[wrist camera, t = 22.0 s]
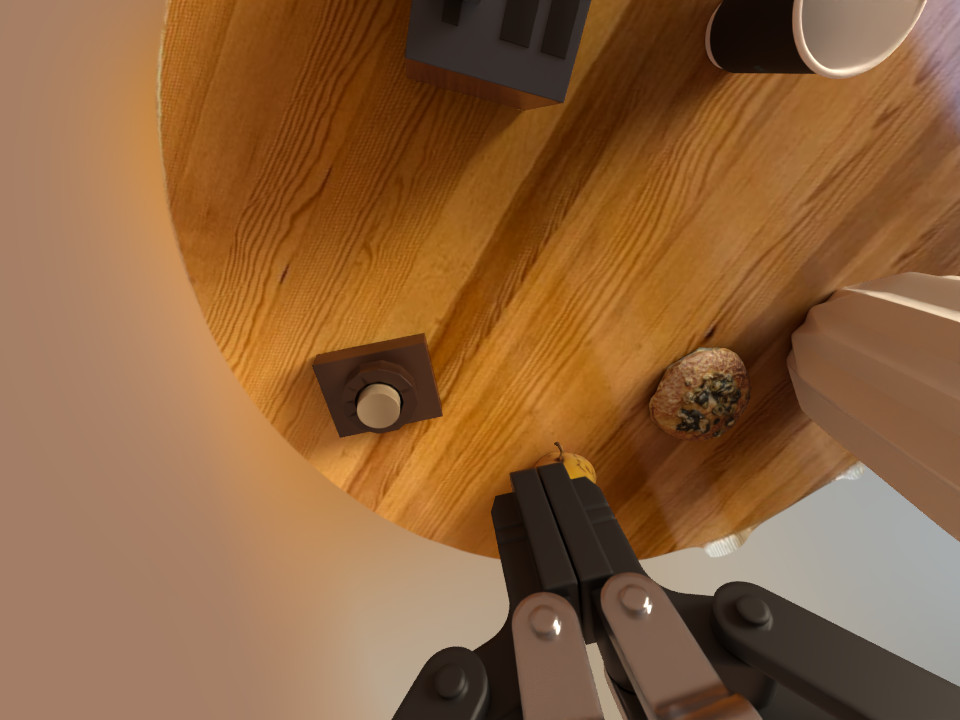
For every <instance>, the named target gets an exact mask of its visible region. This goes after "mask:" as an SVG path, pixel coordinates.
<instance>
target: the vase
mask: <svg viewBox="0 0 960 720" xmlns="http://www.w3.org/2000/svg"><path fill="white" fill-rule="evenodd" d="M791 340H792V346H793V348H792V349H791V351H790V353H789V355H788V356H787V359H786V362H787V366H788V370H789V373H790V377H791V380H792V383H793V386H794V389H795V392H796V395H797V399H798V402H799V404H800V407H801V410H802V411H803V412H804V413H805V414H806V415H807V416H809V417H810V418H811V419H812V420H813V421H814V422H815V423H817V424H818V425H819V426H820V427H821V428H822V429H823V430H825V431H826V432H827V433H828V434H829V435H830V436H831V437H833V438H834V439H835V440H836V441H837V442H838V443H840V444H841V445H842V446H843V447H845V448H846V449H847V450H848V451H849V452H851V453H852V454H853V455H854V456H855V457H856V458H858V459H859V460H860V461H861V462H862V463H864V464H865V465H866V466H867V467H868V468H870V469H871V470H872V471H873V472H875V473H876V474H877V475H878V476H879V477H880V478H882V479H883V480H884V481H885V482H887V483H888V484H889V485H890V486H891V487H893V488H894V489H895V490H896V491H897V492H899V493H900V494H901V495H902V496H904V497H905V498H906V499H907V500H908V501H910V502H911V503H912V504H914V506H916V507H917V508H918V509H919V510H920V511H922V512H923V513H924V514H925V515H927V516H928V517H929V518H930V519H931V520H933V521H934V522H935V523H936V524H937V525H939V526H940V527H941V528H942V529H944V530H945V531H946V532H948V533H949V534H950V535H951V536H953V537H954V538H955V539H957V540H958V541H959V542H960V277H959V276H933V275H928V274H923V273H917V272H907V273H902V274H898V275H893V276H889V277H884V278H880V279H875V280H871V281H867V282H863V283H859V284H854V285H850V286H846V287H843V288H840V289H838V290H837V291H835V292H834V293H833V295H832V296H831V297H830V298H829V299H828V300H827V301H826V302H825V303H822V304H818V305H816V306H813V307H811V308H810V310H809V312H808V314H807V317H806V320H805V322H804V323H803V324H802V325H801V326H800V327H799V328H797V329H796V330H795V331H794V332H793V333H792V335H791Z"/></svg>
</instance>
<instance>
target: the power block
mask: <svg viewBox="0 0 960 720" xmlns="http://www.w3.org/2000/svg"><path fill="white" fill-rule="evenodd" d="M312 367H313V369H314V372H315V375H316V377H317V380H318V382H319V385H320V387H321V390H322V393H323V395H324V398H325V400H326V403H327V406H328V408H329V411H330V413H331V416H332V419H333V421H334V424H335V426H336V429H337V432H338V434H339V437H340V438H342V437H346V436H351V435H356V434H360V433H365V432H374V433H385V432H390V431H394V430H398V429H400V428H401V427H402V426H403V425H405V424H408V423H412V422H417V421H422V420H426V419H431V418H436V417H441V416H443V414H442V405H441V400H440V396H439V392H438V388H437V384H436V380H435V375H434V371H433V367H432V363H431V359H430V355H429V350H428V346H427V342H426V338H425V334H424V333H422V334H417V335H412V336H407V337H402V338H397V339H392V340H387V341H382V342H377V343H373V344H368V345H363V346H358V347H353V348H348V349H343V350H338V351H333V352H328V353H323V354H318V355H316V358H315V360H314V363H313V365H312ZM376 383H383V384H387V385H390V386H391V387H393V388H394V389H395V390H396V391H397V392H398V394H399V396H400V414H399V417H398V419H397V420H396V421H395V422H394V423H393V424H392V425H390V426H388V427H385V428H372V427H369V426H367V425H365V424H364V423H363V422H362V421H361V420H360V419H359V417H358V415H357V405H358V400H359V396H360V393H361V392H362V390H363V389H364V388H366V387H367V386H369V385H371V384H376Z"/></svg>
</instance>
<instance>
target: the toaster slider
mask: <svg viewBox="0 0 960 720" xmlns="http://www.w3.org/2000/svg"><path fill="white" fill-rule="evenodd" d="M465 1H468V2H471V3H474V4H477V5H479V4H480V2H481V0H465Z"/></svg>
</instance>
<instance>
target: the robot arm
mask: <svg viewBox="0 0 960 720" xmlns="http://www.w3.org/2000/svg"><path fill="white" fill-rule="evenodd" d="M509 474H510V481H511V487H512V492H511V493H507V494H502V495H498V496H495V499H494V503H493V507H492V510H491V515H492V520H493V525H494V529H495V534H496V539H497V544H498V549H499V554H500V559H501V563H502V568H503V573H504V577H505V582H506V587H507V592H508V597H509V603H510V605H509V613H508V617H507V620H506V622H505V624H504V626H503V627H502V629H501V630H500V631H499V632H498V633H497V634H496V635H495V636H494V637H493V638H492V639H490V640H489V641H488V642H486V643H484V644H483V645H481V646H480V647H478V648H477V649H475V650H474V651H471V650H469V649H467V648H464V647H449V648H445V649H443V650H441V651H439V652H437V653H436V654H434V655H433V656H432V657H431V658H430V659H429V660H428V661H427V662H426V664H425V665H424V667H423V668H422V670H421V671H420V673H419V675H418V676H417V678H416V680H415V681H414V683H413V685H412V686H411V688H410V690H409V691H408V693H407V695H406V696H405V698H404V700H403V701H402V703H401V705H400V706H399V708H398V710H397V711H396V713H395V715H394V716H393V718H392V720H605V719H604V716H603V712H602V708H601V705H600V701H599V697H598V693H597V690H596V686H595V682H594V678H593V674H592V670H591V666H590V663H589V659H588V655H587V651H586V647H585V644H586V645H587V644H591V643H596V642H597V645H598V647H599V650H600V653H601V656H602V659H603V661H604V673H605V678H606V681H607V684H608V686H609V688H610V691H611V693H612V695H613V698H614V700H615V702H616V704H617V707H618V709H619V711H620V714H621V715H622V718H623V720H960V687H959V686H957V685H955V684H953V683H951V682H949V681H947V680H945V679H943V678H941V677H939V676H937V675H935V674H933V673H931V672H929V671H927V670H925V669H923V668H921V667H919V666H917V665H915V664H913V663H911V662H909V661H907V660H905V659H903V658H901V657H899V656H897V655H895V654H893V653H891V652H889V651H887V650H885V649H883V648H881V647H879V646H877V645H876V644H874V643H872V642H869V641H867V640H866V639H864V638H862V637H860V636H857V635H855V634H854V633H852V632H850V631H848V630H846V629H844V628H842V627H840V626H838V625H836V624H834V623H832V622H830V621H828V620H826V619H824V618H822V617H820V616H818V615H816V614H814V613H812V612H810V611H808V610H806V609H804V608H802V607H800V606H798V605H796V604H794V603H792V602H790V601H788V600H786V599H784V598H782V597H780V596H778V595H776V594H774V593H772V592H770V591H768V590H766V589H764V588H762V587H760V586H758V585H755V584H752V583H748V582H739V581H736V582H730V583H726V584H724V585H722V586H721V587H719V588H718V589H717V591H716V592H715V594H714V596H706V595H695V594H685V593H678V592H675V591H671V590H669V589H666V588H664V587H662V586H661V585H659V584H657V583H656V582H655V581H653V580H652V579H651V578H650V577H649V576H648V575H647V574H646V573H645V571H644V570H643V568H642V567H641V565H640V563H639V561H638V559H637V557H636V555H635V553H634V551H633V550H632V548H631V546H630V544H629V542H628V540H627V538H626V536H625V534H624V533H623V531H622V529H621V527H620V525H619V523H618V521H617V519H615V516H614V514H613V512H612V510H611V508H610V506H608V502H607V501H606V499H605V497H604V495H603V493H602V491H601V489H600V488H599V487H598V486H597V485H596V484H595V483H593V482H592V481H591V480H590V479H588V478H587V477H586V476H583V477H578V478H574V479H570V476H569V474H568V472H567V470H566V468H565V466H564V464H563V462H562V461H561V462H556V463H552V464H547V465H543V466H538V467H536V469H535V467H534V468H530V469H525V470H520V471H516V472H511V473H509ZM583 638H584V640H583ZM584 641H585V644H584Z"/></svg>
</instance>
